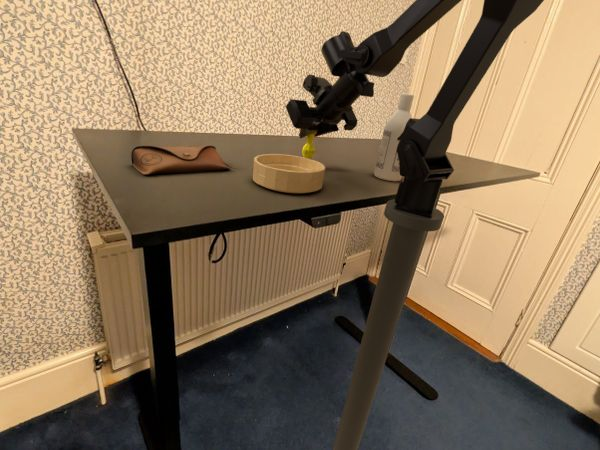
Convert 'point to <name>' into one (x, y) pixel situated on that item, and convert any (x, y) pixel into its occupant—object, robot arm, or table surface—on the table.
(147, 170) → the sunglasses case
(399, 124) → the bath foam
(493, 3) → the robot arm
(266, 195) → the table surface
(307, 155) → the toy figure
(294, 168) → the bowl
